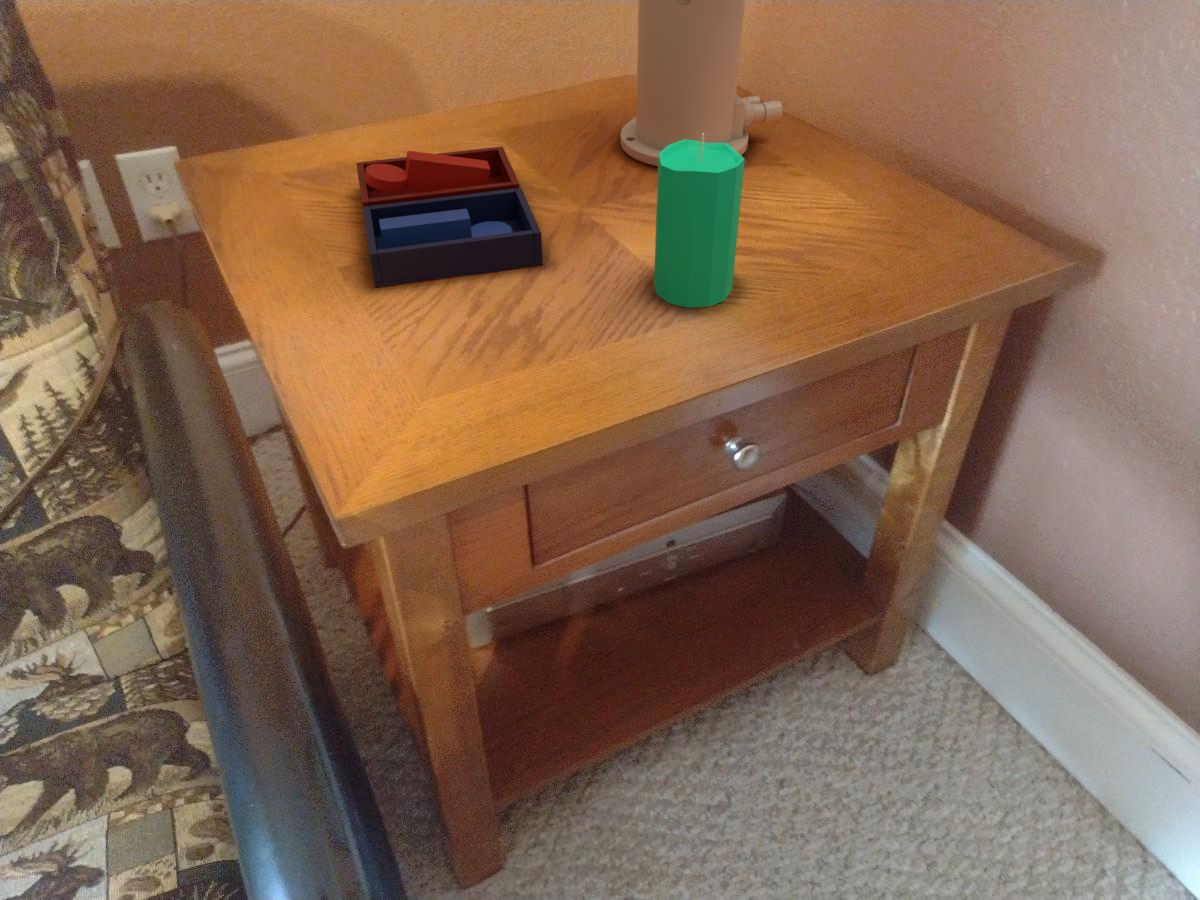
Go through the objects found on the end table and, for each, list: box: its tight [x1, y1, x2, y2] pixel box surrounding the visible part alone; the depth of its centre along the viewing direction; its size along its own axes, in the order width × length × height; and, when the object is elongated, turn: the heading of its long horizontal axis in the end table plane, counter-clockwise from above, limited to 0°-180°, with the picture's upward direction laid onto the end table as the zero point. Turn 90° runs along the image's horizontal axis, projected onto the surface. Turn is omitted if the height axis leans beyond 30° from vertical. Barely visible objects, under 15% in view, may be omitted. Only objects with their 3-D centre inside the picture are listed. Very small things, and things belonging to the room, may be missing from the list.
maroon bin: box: [355, 146, 521, 208], centre depth 80 cm, size 13×8×3 cm, turn 105°
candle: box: [653, 133, 746, 309], centre depth 66 cm, size 6×6×12 cm
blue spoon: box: [379, 209, 512, 249], centre depth 73 cm, size 10×4×3 cm, turn 105°
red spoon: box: [365, 150, 490, 192], centre depth 79 cm, size 10×4×3 cm, turn 104°
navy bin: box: [362, 187, 544, 289], centre depth 74 cm, size 13×8×3 cm, turn 105°
